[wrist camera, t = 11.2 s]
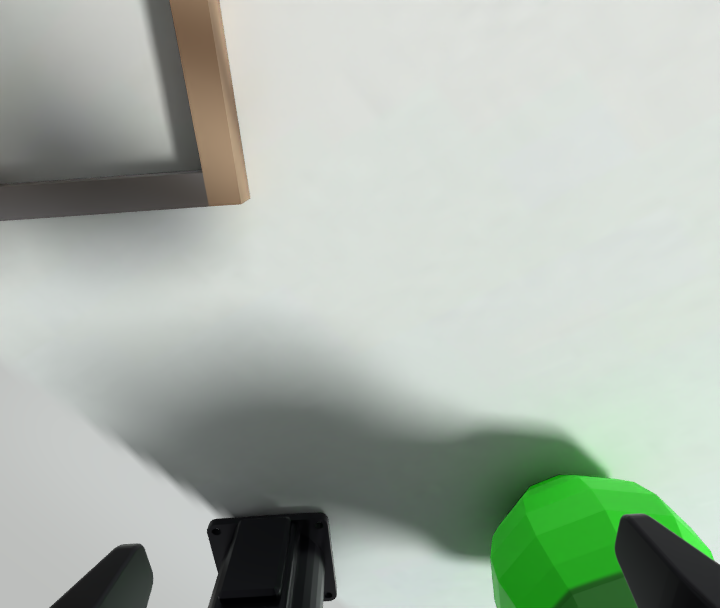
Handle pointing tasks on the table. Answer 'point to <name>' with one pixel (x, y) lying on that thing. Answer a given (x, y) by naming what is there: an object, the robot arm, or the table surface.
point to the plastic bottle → (572, 543)
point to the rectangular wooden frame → (173, 189)
